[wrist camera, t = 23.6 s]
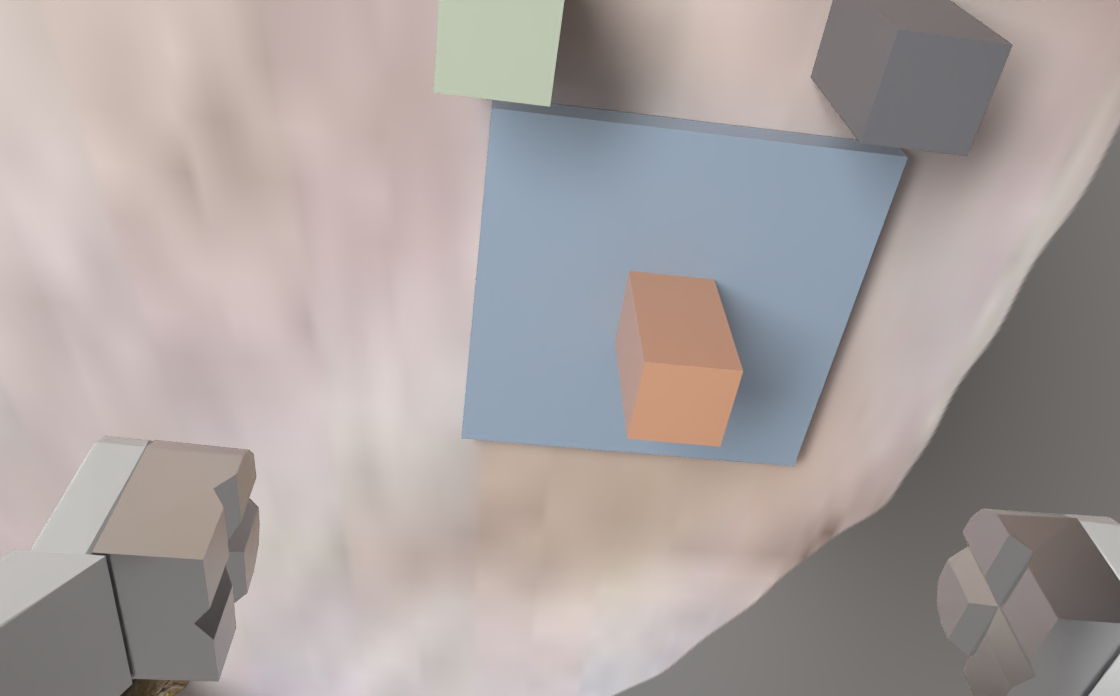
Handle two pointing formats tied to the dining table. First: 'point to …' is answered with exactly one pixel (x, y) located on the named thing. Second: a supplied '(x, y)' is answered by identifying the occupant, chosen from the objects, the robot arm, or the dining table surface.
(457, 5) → the sage brick
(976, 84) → the charcoal brick
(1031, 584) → the robot arm
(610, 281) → the blue-grey baseplate
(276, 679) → the dining table surface
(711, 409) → the terracotta brick
